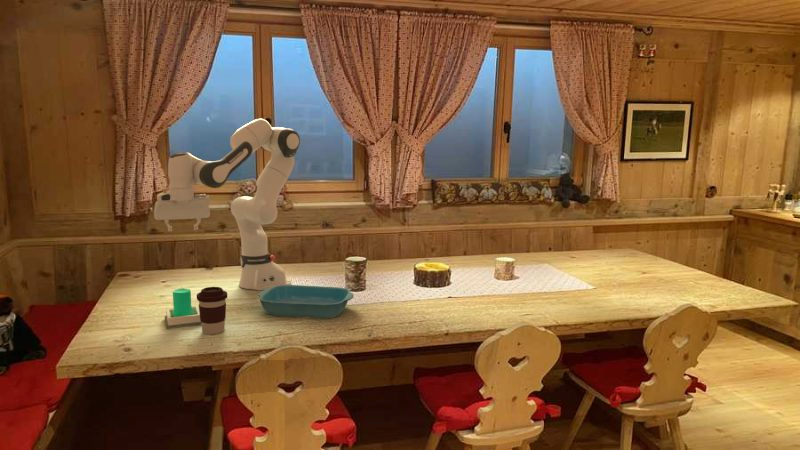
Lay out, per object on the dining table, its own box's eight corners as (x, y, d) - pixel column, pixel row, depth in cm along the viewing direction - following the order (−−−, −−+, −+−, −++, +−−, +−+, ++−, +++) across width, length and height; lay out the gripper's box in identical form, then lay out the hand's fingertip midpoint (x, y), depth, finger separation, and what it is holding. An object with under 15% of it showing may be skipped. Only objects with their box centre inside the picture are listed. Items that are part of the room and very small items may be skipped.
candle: (184, 322, 200) (183, 289, 197) (170, 320, 201) (168, 287, 199) (195, 317, 205) (194, 285, 203) (181, 315, 207) (179, 283, 205)
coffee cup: (202, 326, 199) (200, 285, 196) (231, 326, 200) (229, 285, 197) (194, 336, 189) (192, 293, 187) (225, 336, 190) (223, 293, 188)
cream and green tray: (208, 313, 212) (207, 304, 212) (212, 322, 202) (211, 313, 202) (165, 318, 206) (164, 309, 205) (167, 328, 196) (166, 318, 195)
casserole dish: (249, 317, 210) (248, 299, 209) (270, 299, 232) (269, 282, 230) (346, 323, 206) (346, 304, 204) (358, 304, 227) (358, 287, 226)
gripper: (208, 193, 225) (210, 227, 227) (152, 194, 216) (154, 230, 218) (210, 194, 219) (212, 230, 222) (153, 196, 210) (155, 233, 213)
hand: (183, 230), depth 220 cm, fingers open, 8 cm apart
